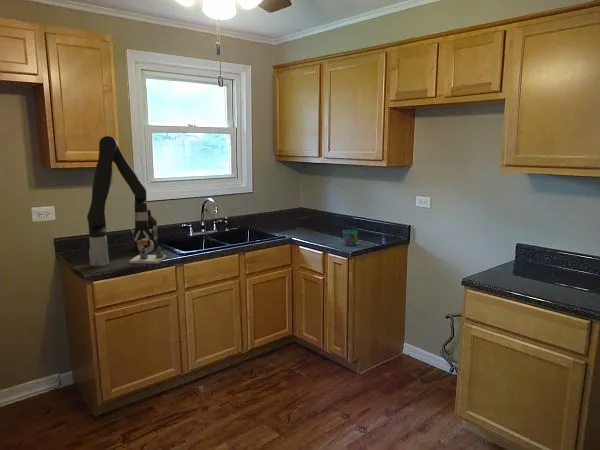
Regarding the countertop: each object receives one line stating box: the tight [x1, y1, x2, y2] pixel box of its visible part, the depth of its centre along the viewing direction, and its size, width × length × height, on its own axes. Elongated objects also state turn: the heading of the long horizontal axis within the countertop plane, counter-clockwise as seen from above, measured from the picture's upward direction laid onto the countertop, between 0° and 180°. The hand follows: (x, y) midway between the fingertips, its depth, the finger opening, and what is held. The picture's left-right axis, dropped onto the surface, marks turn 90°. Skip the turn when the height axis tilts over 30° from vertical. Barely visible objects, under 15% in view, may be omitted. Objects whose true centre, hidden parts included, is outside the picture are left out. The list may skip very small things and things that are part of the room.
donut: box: [137, 238, 155, 254], centre depth 288 cm, size 10×4×10 cm, turn 113°
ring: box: [137, 239, 148, 246], centre depth 269 cm, size 6×6×2 cm
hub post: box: [155, 246, 164, 258], centre depth 273 cm, size 4×4×6 cm
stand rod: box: [139, 246, 149, 259], centre depth 270 cm, size 4×4×6 cm
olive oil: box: [141, 209, 158, 248], centre depth 307 cm, size 11×11×25 cm
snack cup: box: [342, 229, 359, 247], centre depth 309 cm, size 16×10×10 cm
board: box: [129, 254, 167, 265], centre depth 272 cm, size 17×14×2 cm
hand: (142, 246), depth 269 cm, fingers closed on ring, 6 cm apart
